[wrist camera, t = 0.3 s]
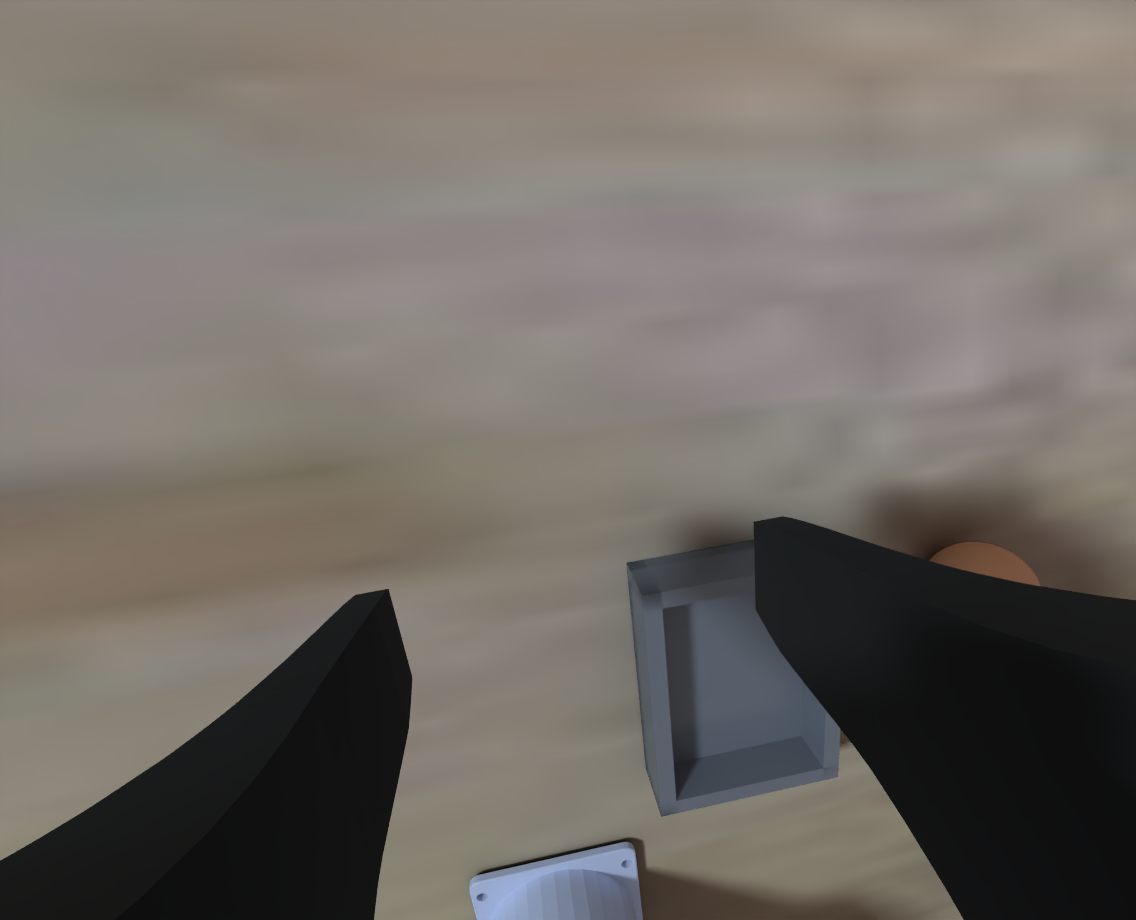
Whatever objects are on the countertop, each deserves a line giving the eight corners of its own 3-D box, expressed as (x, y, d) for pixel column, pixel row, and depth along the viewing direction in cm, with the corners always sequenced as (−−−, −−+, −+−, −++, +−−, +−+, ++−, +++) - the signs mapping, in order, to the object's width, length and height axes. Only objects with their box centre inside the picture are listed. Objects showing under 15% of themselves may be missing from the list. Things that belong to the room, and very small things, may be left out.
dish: (807, 734, 27) (837, 776, 24) (646, 769, 26) (661, 816, 24) (814, 529, 23) (850, 557, 21) (626, 563, 22) (642, 595, 20)
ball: (976, 597, 25) (1060, 653, 22) (894, 613, 25) (967, 673, 21) (988, 518, 24) (1080, 563, 20) (902, 534, 24) (980, 583, 20)
